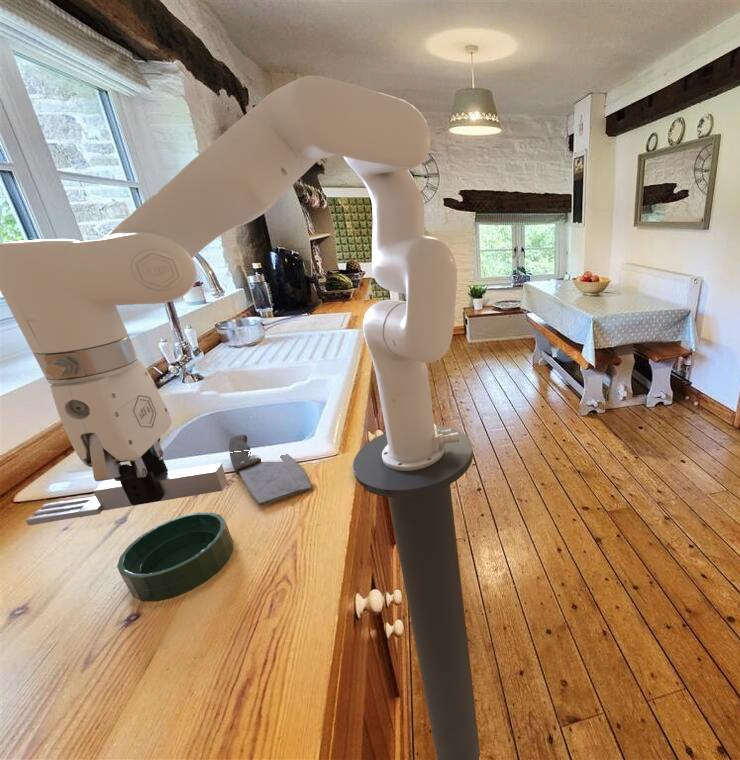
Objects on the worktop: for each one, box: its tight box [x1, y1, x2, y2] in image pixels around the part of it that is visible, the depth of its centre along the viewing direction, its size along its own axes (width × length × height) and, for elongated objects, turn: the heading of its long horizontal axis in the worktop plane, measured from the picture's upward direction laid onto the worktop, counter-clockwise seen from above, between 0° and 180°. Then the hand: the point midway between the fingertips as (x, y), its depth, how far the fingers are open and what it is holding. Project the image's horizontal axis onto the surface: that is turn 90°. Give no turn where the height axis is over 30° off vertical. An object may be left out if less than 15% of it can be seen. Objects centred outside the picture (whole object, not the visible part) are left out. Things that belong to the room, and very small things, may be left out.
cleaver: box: [228, 434, 312, 507], centre depth 83 cm, size 29×10×2 cm, turn 45°
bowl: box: [116, 511, 235, 603], centre depth 59 cm, size 12×12×5 cm
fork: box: [25, 463, 229, 526], centre depth 51 cm, size 20×3×3 cm, turn 106°
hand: (153, 494), depth 52 cm, fingers closed on fork, 2 cm apart
